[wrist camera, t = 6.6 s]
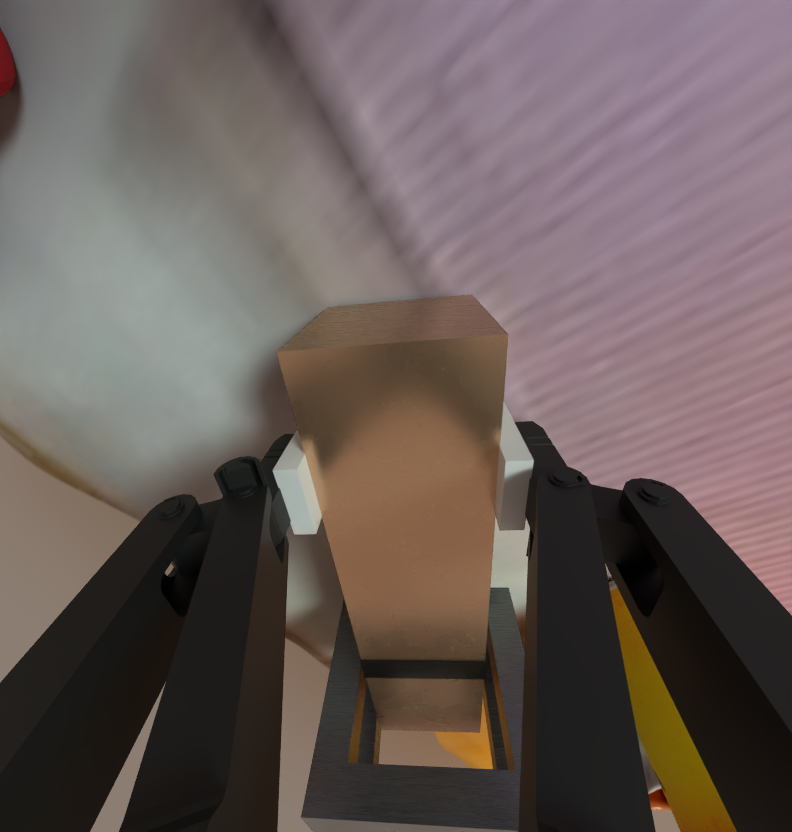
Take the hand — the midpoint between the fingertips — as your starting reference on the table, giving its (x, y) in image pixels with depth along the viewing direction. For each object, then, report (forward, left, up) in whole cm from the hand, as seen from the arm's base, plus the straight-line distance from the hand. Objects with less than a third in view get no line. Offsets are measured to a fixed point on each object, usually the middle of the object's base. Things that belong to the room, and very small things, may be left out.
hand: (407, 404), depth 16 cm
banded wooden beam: (+7, 0, 0) cm, 7 cm away
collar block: (+20, 0, -1) cm, 21 cm away
